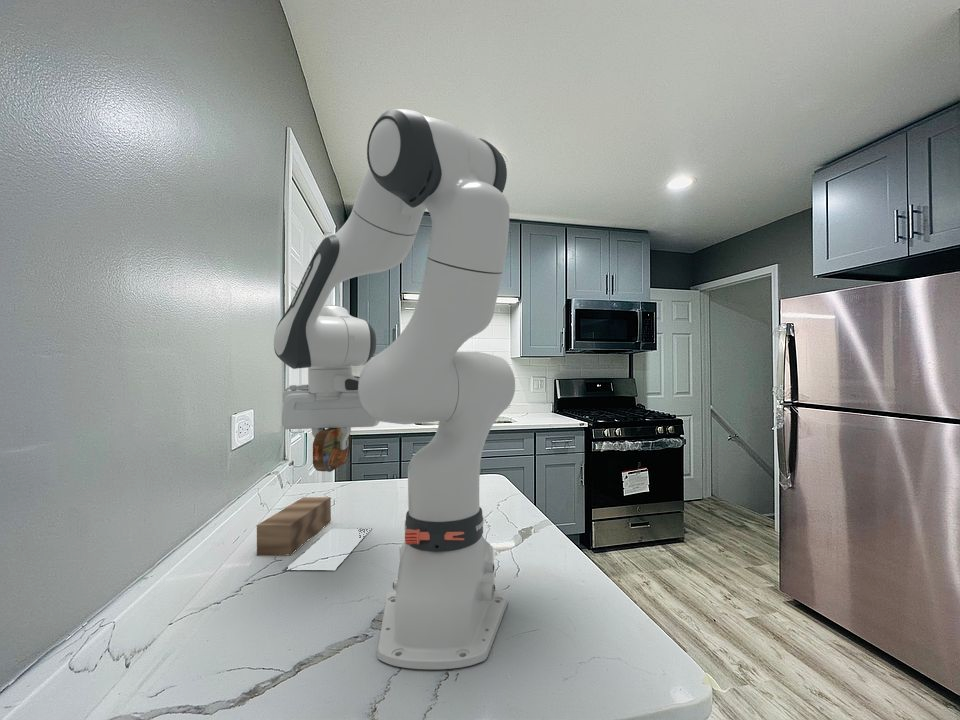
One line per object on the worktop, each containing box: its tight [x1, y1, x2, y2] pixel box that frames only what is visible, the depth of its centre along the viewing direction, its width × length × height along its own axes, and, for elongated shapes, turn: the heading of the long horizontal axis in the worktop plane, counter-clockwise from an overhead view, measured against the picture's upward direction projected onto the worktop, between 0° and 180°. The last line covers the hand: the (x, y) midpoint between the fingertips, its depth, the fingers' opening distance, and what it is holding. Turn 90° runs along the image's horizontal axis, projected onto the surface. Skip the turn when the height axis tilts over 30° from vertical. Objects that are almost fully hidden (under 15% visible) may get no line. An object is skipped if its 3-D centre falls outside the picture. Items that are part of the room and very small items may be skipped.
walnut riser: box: [256, 496, 332, 556], centre depth 98 cm, size 20×7×6 cm, turn 176°
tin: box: [312, 428, 351, 473], centre depth 92 cm, size 15×3×8 cm, turn 177°
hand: (331, 449), depth 91 cm, fingers closed on tin, 2 cm apart
